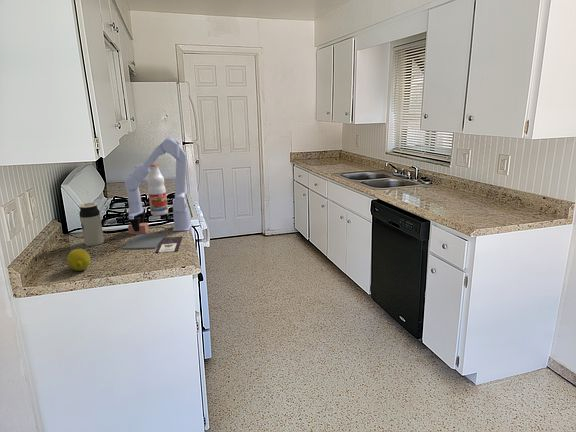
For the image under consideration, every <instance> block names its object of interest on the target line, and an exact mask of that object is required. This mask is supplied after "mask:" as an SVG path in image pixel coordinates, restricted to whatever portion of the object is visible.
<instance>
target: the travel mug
mask: <svg viewBox="0 0 576 432" xmlns="http://www.w3.org/2000/svg"><path fill="white" fill-rule="evenodd" d="M78 208H79V211H78V214H79V219H80V220H79V221H80V225H81V230H82V235H83V242H84V245H86V246H88V247H89V246H90V247H93V246H94V247H95V246H98V245H101V244H103V243H104V242H105V237H104V230H103V225H102V220H101V213H100V210H99V208H98V203H97V202H84V203H80V204H79V205H78Z"/></svg>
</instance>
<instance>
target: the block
mask: <svg viewBox="0 0 576 432" xmlns="http://www.w3.org/2000/svg"><path fill="white" fill-rule="evenodd" d="M127 229H128V234H129V235H137V234H148V232H149V231H150V228H149V223H148V222H143V223H139V231H134V229H133V227H132V225H131V223H130V224H129V225H127Z"/></svg>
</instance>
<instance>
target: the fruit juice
mask: <svg viewBox="0 0 576 432" xmlns="http://www.w3.org/2000/svg"><path fill="white" fill-rule="evenodd" d="M159 166H160V165H159V163H156V162H154V163H153V164H152V165H151V166H150V167H149V170H150V172H149V174H148V175H147V177H146V183H147V186H148V188H147V194H148V200H149V201H148V203H149V210H150V214H151V215H152V216H164V215H167V214H168V213H169V207H168V200H167V190H166V185H165V177H164V176H163V174H162V173H161V171H160V168H159Z"/></svg>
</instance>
